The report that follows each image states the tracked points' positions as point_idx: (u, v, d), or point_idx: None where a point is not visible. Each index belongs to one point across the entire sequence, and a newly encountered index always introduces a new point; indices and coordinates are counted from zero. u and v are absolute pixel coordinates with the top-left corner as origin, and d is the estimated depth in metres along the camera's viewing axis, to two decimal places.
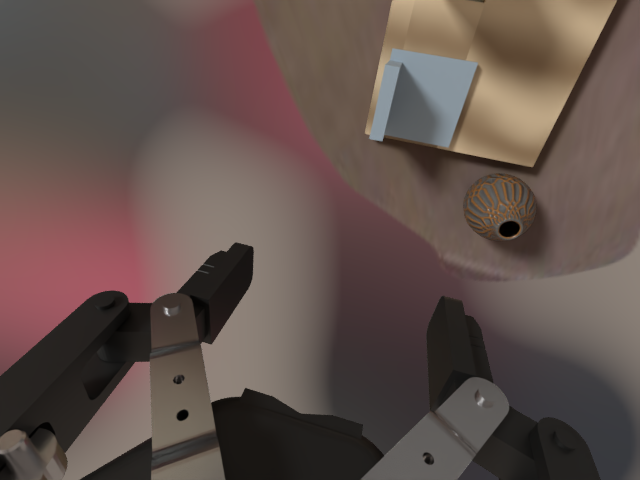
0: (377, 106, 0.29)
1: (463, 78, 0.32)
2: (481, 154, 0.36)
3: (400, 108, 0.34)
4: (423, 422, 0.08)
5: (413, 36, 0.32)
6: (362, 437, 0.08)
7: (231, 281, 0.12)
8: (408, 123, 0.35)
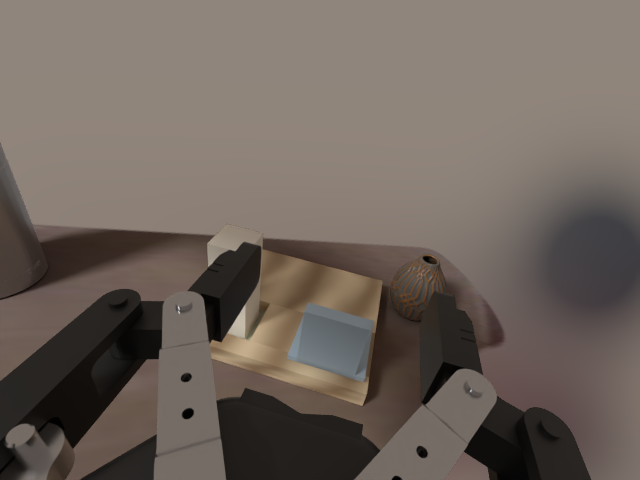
0: (339, 320, 0.30)
1: None
2: (377, 305, 0.43)
3: None
4: (415, 416, 0.08)
5: (281, 344, 0.36)
6: (362, 437, 0.08)
7: (240, 279, 0.13)
8: None
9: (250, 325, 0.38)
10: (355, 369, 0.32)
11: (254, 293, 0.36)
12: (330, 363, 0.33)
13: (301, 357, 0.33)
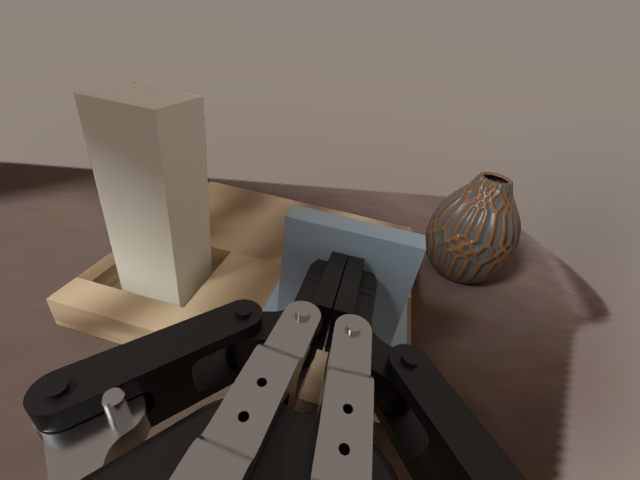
0: (358, 232, 0.14)
1: None
2: None
3: None
4: (328, 382, 0.08)
5: None
6: None
7: (338, 289, 0.13)
8: None
9: (191, 284, 0.21)
10: (388, 342, 0.17)
11: (194, 222, 0.20)
12: None
13: None
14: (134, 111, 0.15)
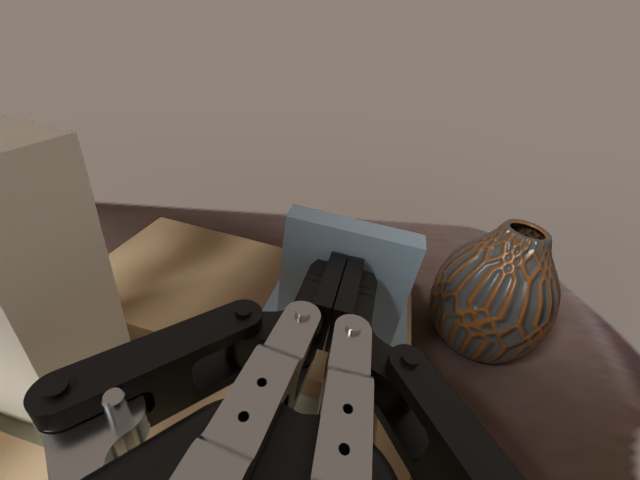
0: (359, 232, 0.14)
1: None
2: None
3: None
4: (328, 382, 0.08)
5: None
6: None
7: (338, 289, 0.13)
8: None
9: None
10: (388, 342, 0.17)
11: (85, 315, 0.13)
12: None
13: None
14: None
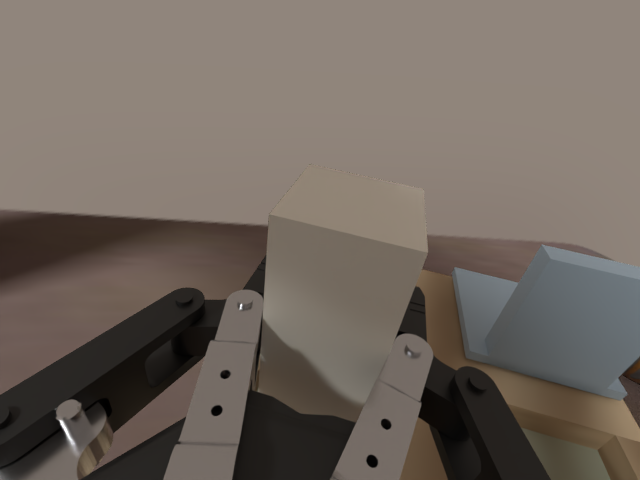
0: (628, 275, 0.14)
1: (476, 278, 0.24)
2: None
3: None
4: (372, 392, 0.08)
5: None
6: None
7: None
8: None
9: None
10: (615, 376, 0.17)
11: None
12: (559, 366, 0.17)
13: (499, 355, 0.18)
14: (383, 250, 0.08)
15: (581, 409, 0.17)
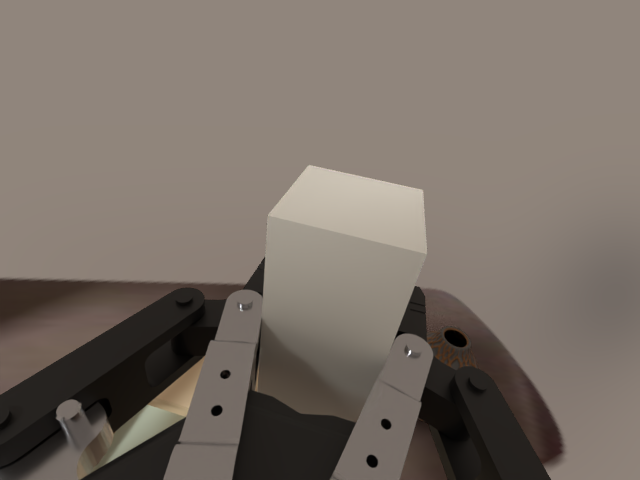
0: None
1: None
2: None
3: None
4: (373, 392, 0.08)
5: None
6: None
7: None
8: None
9: None
10: None
11: None
12: None
13: None
14: (382, 251, 0.08)
15: None
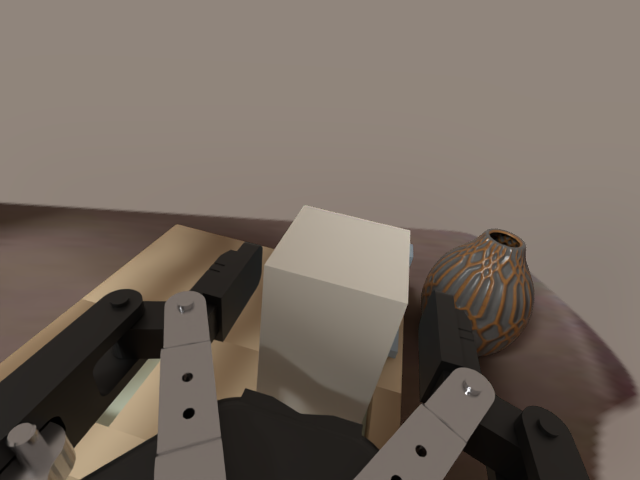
0: None
1: None
2: (399, 330, 0.22)
3: None
4: (414, 415, 0.08)
5: None
6: (362, 437, 0.08)
7: (241, 279, 0.13)
8: None
9: None
10: None
11: None
12: None
13: None
14: (367, 300, 0.09)
15: None
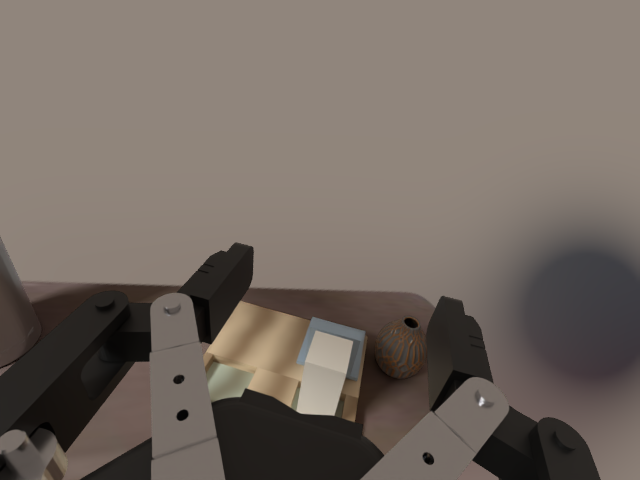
0: (337, 333, 0.39)
1: None
2: (361, 365, 0.44)
3: None
4: (423, 422, 0.08)
5: None
6: (362, 437, 0.08)
7: (231, 280, 0.12)
8: None
9: None
10: (350, 371, 0.41)
11: None
12: None
13: None
14: (335, 372, 0.31)
15: None
